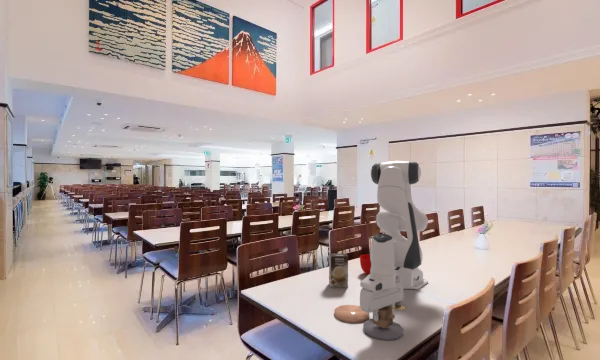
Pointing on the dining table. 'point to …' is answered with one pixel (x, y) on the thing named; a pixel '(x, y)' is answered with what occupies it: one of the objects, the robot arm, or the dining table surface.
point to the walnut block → (384, 317)
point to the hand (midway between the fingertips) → (382, 317)
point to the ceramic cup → (365, 263)
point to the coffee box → (338, 270)
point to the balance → (398, 307)
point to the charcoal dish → (383, 331)
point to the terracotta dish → (351, 313)
